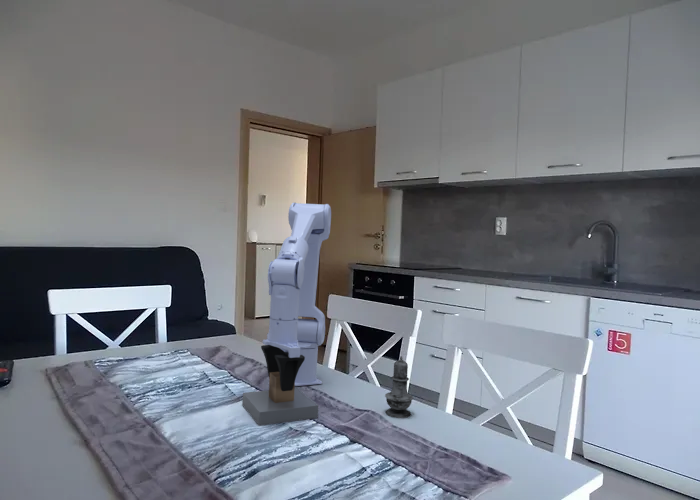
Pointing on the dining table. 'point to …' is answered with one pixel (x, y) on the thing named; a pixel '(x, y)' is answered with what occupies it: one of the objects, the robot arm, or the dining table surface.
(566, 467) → the dining table surface
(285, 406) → the slate coaster
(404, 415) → the salt shaker
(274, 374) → the walnut block
